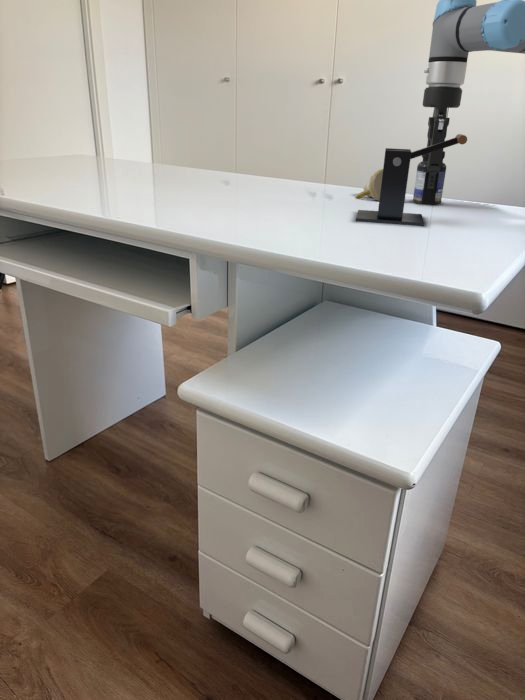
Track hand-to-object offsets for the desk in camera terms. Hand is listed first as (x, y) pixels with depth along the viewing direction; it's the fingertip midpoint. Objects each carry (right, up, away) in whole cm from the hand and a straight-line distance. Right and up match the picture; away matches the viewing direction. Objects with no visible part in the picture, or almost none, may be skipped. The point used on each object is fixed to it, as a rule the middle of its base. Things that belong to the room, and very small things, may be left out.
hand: (426, 201), depth 119 cm
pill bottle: (0, -1, 0) cm, 1 cm away
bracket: (-13, -9, -19) cm, 25 cm away
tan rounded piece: (-10, +2, +5) cm, 12 cm away
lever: (-8, +1, -25) cm, 26 cm away
